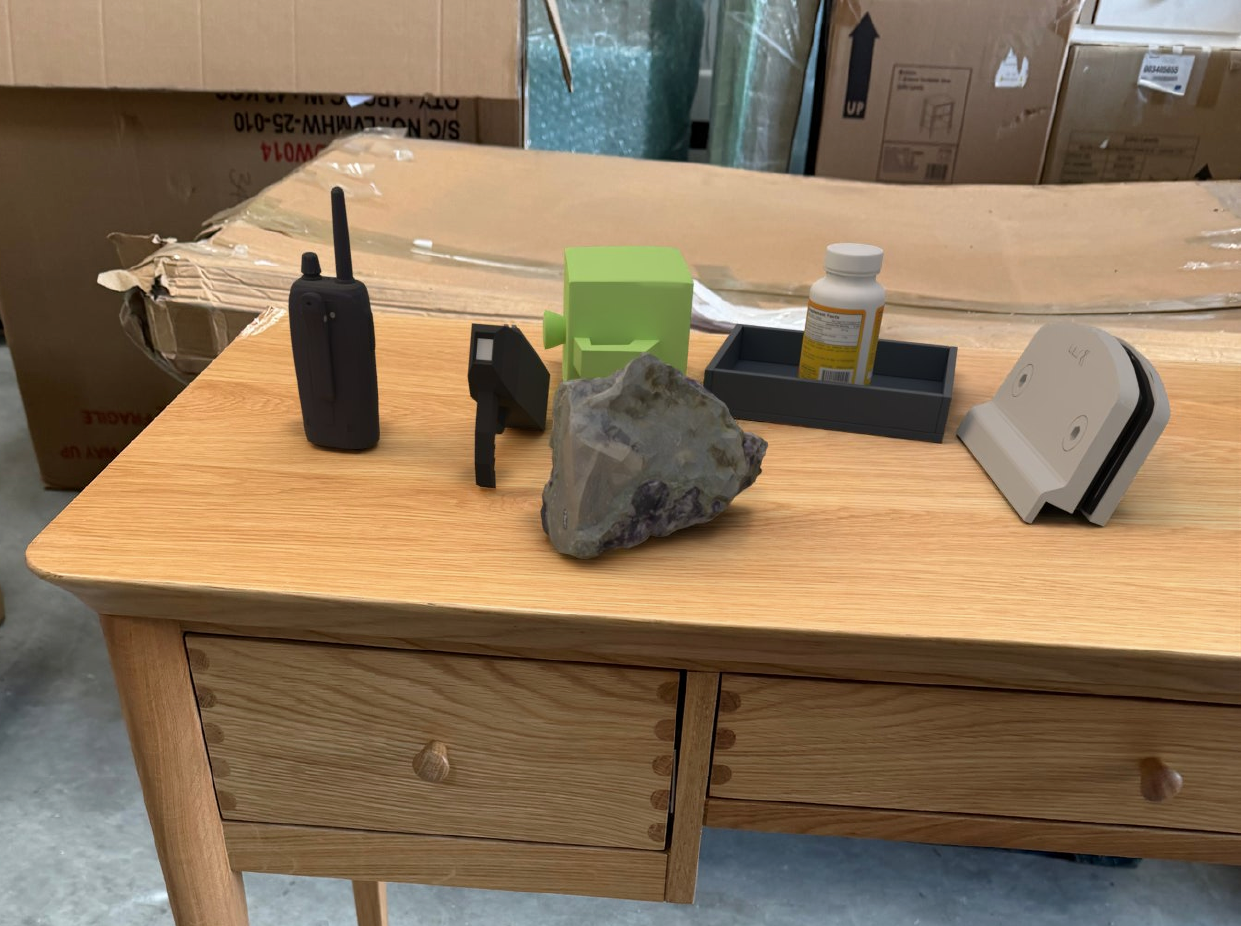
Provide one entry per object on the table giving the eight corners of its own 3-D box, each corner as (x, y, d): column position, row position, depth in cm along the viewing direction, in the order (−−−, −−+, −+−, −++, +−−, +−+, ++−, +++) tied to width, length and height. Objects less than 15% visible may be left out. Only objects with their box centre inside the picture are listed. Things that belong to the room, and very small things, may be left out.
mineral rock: (756, 504, 72) (779, 330, 66) (771, 580, 64) (798, 389, 58) (547, 495, 72) (549, 319, 66) (535, 569, 64) (537, 377, 58)
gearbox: (540, 359, 94) (541, 227, 88) (661, 361, 95) (671, 230, 89) (544, 435, 81) (545, 284, 75) (686, 437, 81) (699, 288, 75)
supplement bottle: (836, 378, 91) (859, 237, 85) (883, 398, 87) (910, 252, 81) (781, 386, 89) (800, 243, 83) (826, 407, 85) (850, 259, 79)
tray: (948, 388, 92) (958, 346, 90) (941, 443, 82) (951, 397, 80) (732, 364, 95) (736, 323, 93) (700, 414, 85) (704, 369, 83)
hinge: (954, 430, 84) (1038, 286, 78) (1010, 454, 85) (1097, 315, 79) (1025, 523, 71) (1133, 360, 65) (1090, 550, 72) (1201, 392, 66)
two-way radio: (391, 440, 79) (372, 184, 69) (365, 463, 76) (342, 197, 66) (315, 431, 80) (286, 177, 70) (286, 452, 77) (252, 189, 67)
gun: (543, 511, 84) (557, 363, 82) (496, 480, 69) (512, 296, 67) (504, 507, 85) (517, 360, 83) (449, 476, 69) (463, 293, 67)
